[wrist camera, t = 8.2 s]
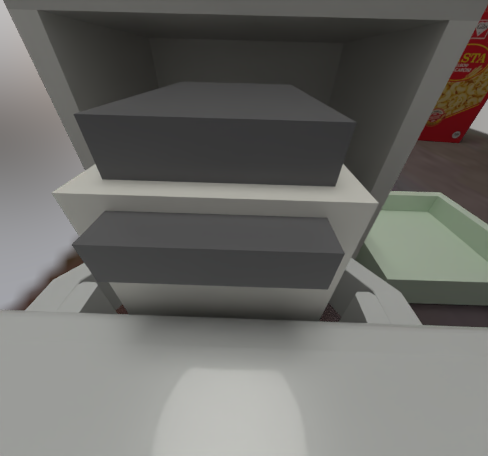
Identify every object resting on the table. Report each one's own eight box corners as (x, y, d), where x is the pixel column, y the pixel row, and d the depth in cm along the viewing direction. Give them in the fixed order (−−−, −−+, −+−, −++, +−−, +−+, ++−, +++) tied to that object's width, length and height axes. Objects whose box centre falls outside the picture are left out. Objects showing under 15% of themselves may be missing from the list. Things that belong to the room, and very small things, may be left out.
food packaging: (387, 138, 47) (460, -34, 32) (379, 132, 51) (441, -23, 36) (459, 143, 45) (575, -38, 30) (445, 136, 49) (541, -25, 34)
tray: (426, 212, 23) (440, 192, 22) (539, 307, 14) (576, 285, 13) (324, 209, 23) (330, 189, 22) (371, 301, 14) (387, 279, 13)
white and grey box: (270, 278, 16) (302, 83, 8) (282, 417, 9) (467, 157, 2) (203, 276, 16) (172, 80, 8) (173, 413, 9) (-75, 140, 2)
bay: (311, 203, 24) (357, 25, 15) (344, 279, 16) (502, -25, 6) (175, 199, 24) (136, 20, 15) (134, 273, 16) (-15, -37, 6)
